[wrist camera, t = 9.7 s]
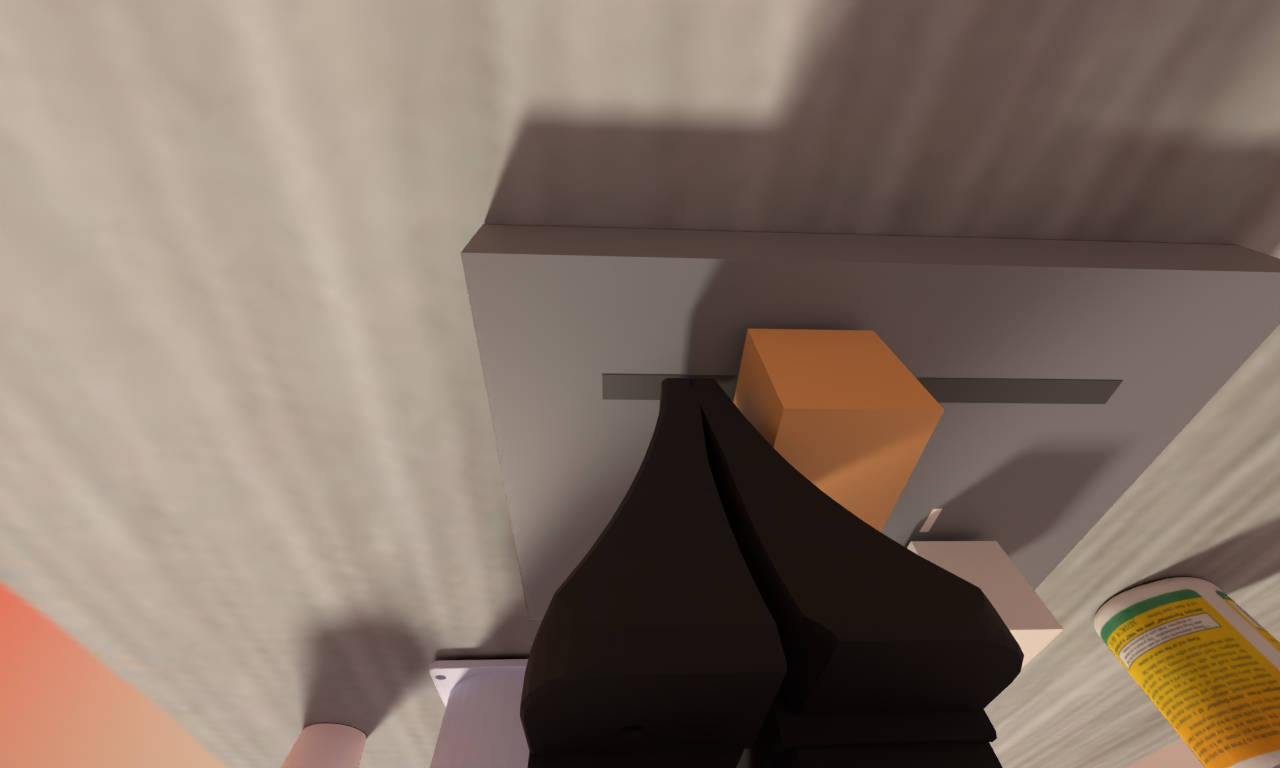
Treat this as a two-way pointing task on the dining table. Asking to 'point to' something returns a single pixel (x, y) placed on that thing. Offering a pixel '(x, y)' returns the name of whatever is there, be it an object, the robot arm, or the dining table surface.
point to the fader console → (903, 319)
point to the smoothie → (327, 747)
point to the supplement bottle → (1201, 667)
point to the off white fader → (997, 588)
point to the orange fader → (838, 412)
